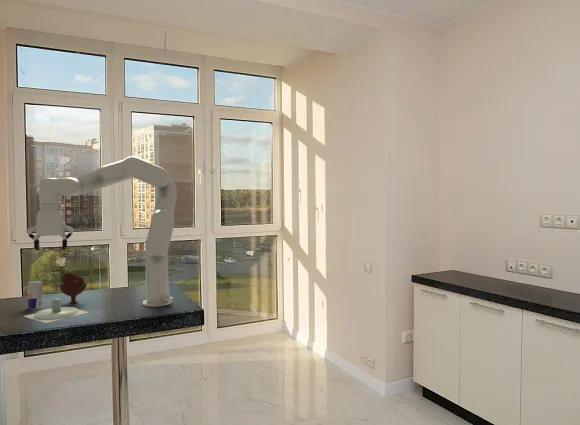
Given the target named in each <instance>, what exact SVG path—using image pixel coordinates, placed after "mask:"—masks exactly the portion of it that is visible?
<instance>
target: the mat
mask: <svg viewBox="0 0 580 425" xmlns="http://www.w3.org/2000/svg"><path fill="white" fill-rule="evenodd" d="M89 313H90V311H86V310H82V309H78V312H77V313H76V314H75V315H72V316H69V317H65V318H59V319H50V320H42V319H36V318H35V313H32V314H26V315H23V316H22V317H24V318H27V319H31V320H33V321H38V322H41V323H45V324H47V323H52V322H56V321H61V320H64V319H68V318H72V317H76V316H77V317H78V316H81V315H84V314H89Z"/></svg>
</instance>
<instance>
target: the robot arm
mask: <svg viewBox="0 0 580 425" xmlns="http://www.w3.org/2000/svg"><path fill="white" fill-rule="evenodd" d="M169 174H170V173H169V172H168V171H167V170H166V169H165V168H163V167H161V166H158V165H156V164H153V163H152V162H148V161H146V160H144V159H142V158H140V157H138V156H135V155H131V156H128V157H126V158H124V159H123V160H122V159H121V160H118V161H117V162H112V163H108V164H106V165H103V166H100V167H98V168H97V169H95V170H94V171H92V172H89V173H86V174H83V175H80V176H77V177H62V178H56V177H42V178H39V181H38V182H39V184H38V185H39V186H38V188H39V189H38V190H39V192H38V194H39V211H37V214H36V219H35V220H36V221H35V222H36V223H35V225H34V226H32V227H30V228H28V229H26V230H25V232H26V233H27V235H28V237H29V238H31V240H32V241H33V248H34V249H35V251H39V250H40V240H39V239H40V238H41V237H45V236H46V237H53V236H54V237H55V236H60V237H61V238H62V240H61V241H62V242H61V243H62V244H61V245H62V246H61V247H62V248H61V249H62V250H63V251H65V250H66V248H67V247H68V239H69V238H70V237H71V236H72V235H73V233H74V231H75V228H74V227H70V226H68V225H66V223H65V222H66V221H65V220H66V219H65V215H64V211H62V210H64V209H65V207H66V206H65V205H63V204H62V203H61V202H62V200H61V196H67V197H75V196H79V195H82V194H86V193H89V192H92V191H95V190H99V189H101V188H105V187H108V186H109V187H110V186H112V185H115V184H118V183H121V182H124V181H128V180H132V179H135V180H139V181H141V182H143V183H146V184H148V185H150V186H152V187H154V188H155V189H156V193H157V194H156V200H155V204H154V209H153V211H152V215H151V217H150V225H149V229H148V233H147V237H146V239H145V243H144V248H145V250H144V251H145V252H144V254H145V300H143V301H142V305H143V306H144V307H148V308H149V307H150V308H155V307H156V308H157V307H165V306H168V305H171V304H173V300H174V297H173V296H171V294H170V293H169V252H168V251H169V247H170V245H171V240H172V235H173V230H174V225H175V217H174V212H175V208H176V204H177V202H176V201H177V197H178V196H177V195H178V194H177V193H178V190H177V186H176V183H175V181H174V180H173V179H172V177H171V176H170V175H169ZM34 230H35V235H34V234H33V232H32V231H34ZM66 230H67V231H68V234H66Z"/></svg>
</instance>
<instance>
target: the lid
mask: <svg viewBox="0 0 580 425" xmlns="http://www.w3.org/2000/svg"><path fill="white" fill-rule="evenodd" d="M78 310H79V309H78V308H77V307H73V306H62V299H61V298H57V297H56V298H52V299H51V308H45V309H42V310H39V311H37V312H35V313H34V314H35V318H36V319H42V320H50V319H59V318H65V317H69V316H72V315H75V314H76V313H77V312H78ZM69 318H70V317H69ZM65 319H66V318H65Z"/></svg>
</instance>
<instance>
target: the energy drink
mask: <svg viewBox="0 0 580 425" xmlns="http://www.w3.org/2000/svg"><path fill="white" fill-rule="evenodd" d="M43 292H44V290H43V281H42V280H32V281H31V280H30V281H28V282H27V308H28V310H38V309H39V310H40V309H42V308H43V307H44V297H43V294H44V293H43Z"/></svg>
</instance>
